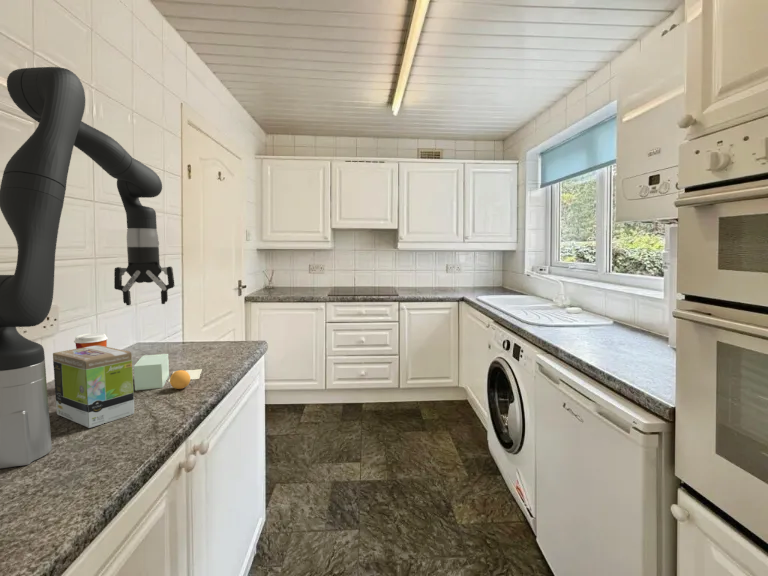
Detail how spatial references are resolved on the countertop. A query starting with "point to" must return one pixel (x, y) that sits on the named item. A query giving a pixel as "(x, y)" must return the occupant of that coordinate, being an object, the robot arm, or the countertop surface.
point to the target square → (193, 374)
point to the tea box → (93, 384)
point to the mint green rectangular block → (151, 371)
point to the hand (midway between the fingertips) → (146, 304)
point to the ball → (180, 379)
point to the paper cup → (91, 340)
